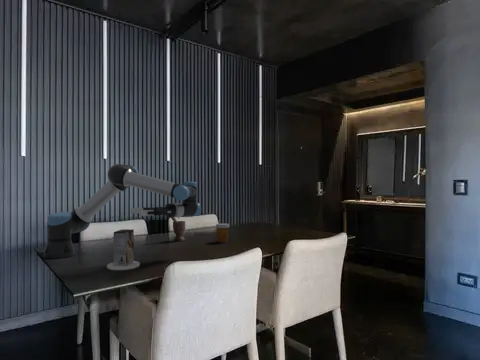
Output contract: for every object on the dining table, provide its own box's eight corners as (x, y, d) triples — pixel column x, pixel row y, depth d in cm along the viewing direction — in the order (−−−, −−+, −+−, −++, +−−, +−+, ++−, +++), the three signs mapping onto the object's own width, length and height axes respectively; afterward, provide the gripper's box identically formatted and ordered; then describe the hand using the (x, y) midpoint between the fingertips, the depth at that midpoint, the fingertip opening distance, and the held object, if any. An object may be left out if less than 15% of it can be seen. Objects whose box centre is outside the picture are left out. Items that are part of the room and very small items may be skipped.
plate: (104, 271, 158) (104, 268, 158) (109, 263, 172) (109, 261, 172) (138, 269, 161) (138, 266, 161) (140, 262, 176) (140, 259, 176)
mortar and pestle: (174, 242, 231) (174, 212, 231) (166, 241, 237) (166, 211, 237) (187, 240, 239) (187, 211, 240) (180, 239, 245) (180, 210, 245)
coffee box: (121, 261, 171) (121, 229, 172) (134, 261, 171) (134, 229, 171) (113, 266, 162) (113, 231, 162) (126, 266, 162) (126, 232, 162)
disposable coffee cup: (231, 240, 238) (231, 223, 238) (227, 243, 229) (227, 225, 229) (218, 240, 241) (218, 222, 241) (213, 242, 232) (213, 224, 232)
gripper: (184, 219, 178) (144, 222, 165) (163, 215, 198) (126, 217, 185) (185, 205, 178) (145, 206, 165) (164, 202, 198) (127, 202, 185)
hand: (135, 211), depth 175 cm, fingers open, 13 cm apart
